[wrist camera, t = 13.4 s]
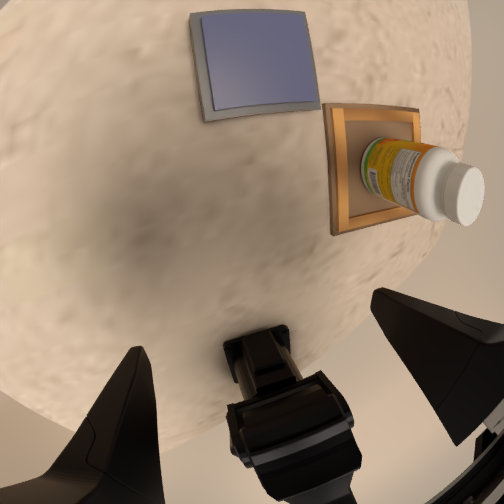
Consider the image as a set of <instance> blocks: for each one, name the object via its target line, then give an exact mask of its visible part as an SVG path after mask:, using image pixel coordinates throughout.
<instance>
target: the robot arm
mask: <svg viewBox="0 0 504 504" xmlns="http://www.w3.org/2000/svg"><path fill="white" fill-rule="evenodd" d="M370 308H371V312H372V313H373V315H374V317H375V319H376V320H377V322H378V324H379V326H380V327H381V329H382V330H383V333H384V334H385V336H386V338H387V339H388V341H389V342H390V344H391V345H392V347H393V348H394V350H395V351H396V352H397V354H398V355H399V357H400V358H401V360H402V361H403V363H404V364H405V366H406V367H407V369H408V370H409V372H410V373H411V374H412V376H413V378H414V379H415V381H416V382H417V384H418V385H419V387H420V388H421V390H422V391H423V393H424V394H425V396H426V398H427V399H428V401H429V402H430V404H431V406H432V407H433V409H434V411H435V412H436V414H437V416H438V417H439V419H440V421H441V422H442V424H443V426H444V427H445V429H446V431H447V432H448V434H449V436H450V438H451V439H452V441H453V443H454V444H455V446H458V445H459V444H460V443H462V441H464V440H465V439H466V438H467V437H468V436H469V435H470V434H471V433H472V432H473V431H474V430H475V429H476V428H477V427H478V426H479V425H480V424H481V423H482V422H483V423H484V425H485V426H486V427H487V428H486V429H485V430H484V431H483V432H482V433H481V434H480V435H479V436H478V437H477V438H476V442H475V453H474V461H473V463H472V464H471V465H470V466H469V467H468V468H467V469H466V470H465V471H464V472H463V473H462V474H461V475H460V476H458V477H457V478H456V479H455V480H454V481H453V482H452V483H450V484H449V485H448V486H447V487H446V488H444V489H443V490H442V491H441V492H440V493H438V494H437V495H436V496H434V497H433V498H432V499H430V500H429V501H428V502H426V503H425V504H504V324H500V323H496V322H492V321H488V320H484V319H480V318H476V317H473V316H469V315H466V314H463V313H460V312H457V311H453V310H450V309H448V308H445V307H442V306H438V305H435V304H432V303H429V302H426V301H423V300H420V299H417V298H414V297H411V296H408V295H405V294H402V293H399V292H396V291H393V290H390V289H387V288H383V287H382V288H378V289H375V290H374V291H373V295H372V300H371V305H370ZM283 330H284V331H283ZM227 346H229V347H227ZM223 348H224V351H225V354H226V358H227V361H228V364H229V367H230V370H231V373H232V376H233V379H234V382H235V383H239V386H240V389H241V392H242V395H243V398H244V401H242V402H238V403H235V404H233V403H232V404H229V405H227V408H228V412H227V416H226V419H227V423H228V426H229V431H230V451H231V453H232V455H234V456H237V457H239V459H240V460H241V461H242V462H243V464H244V465H245V467H246V468H252V467H254V469H255V472H256V474H257V475H258V478H259V480H260V482H261V484H262V486H263V488H264V489H265V490H266V492H267V494H268V495H269V496H271V497H272V498H274V499H275V500H276V501H278V502H280V501H283V500H284V501H286V502H288V503H290V504H357V502H356V500H355V498H354V496H353V493H352V491H351V488H350V483H351V480H352V476H353V473H354V471H356V470H358V469H360V467H361V461H362V454H361V452H360V450H359V448H358V446H357V444H356V441H355V439H354V436H353V433H352V431H351V428H353V426H354V419H353V415H352V413H351V410H350V408H349V406H348V404H347V402H346V400H345V399H344V397H343V396H342V394H341V393H340V392H339V391H338V390H337V389H336V387H335V386H334V385H333V384H332V383H331V381H330V380H328V378H327V377H326V376H325V374H324V373H323V372H322V371H321V370H320V371H318V372H316V373H315V374H313V375H311V376H309V377H306V378H304V379H303V378H302V376H301V374H300V372H299V370H298V368H297V366H296V365H295V363H294V361H293V359H292V357H291V353H290V337H289V329H288V327H287V326H286V325H283V326H279V327H276V328H273V329H270V330H266V331H263V332H259V333H256V334H252V335H249V336H245V337H242V338H238V339H235V340H231V341H227V342H225V343H224V344H223ZM0 504H165V499H164V492H163V484H162V476H161V467H160V456H159V444H158V429H157V408H156V398H155V392H154V384H153V377H152V369H151V364H150V361H149V359H148V357H147V354H146V352H145V350H144V348H143V347H142V346H135V347H131V348H130V349H129V351H128V352H127V354H126V355H125V357H124V358H123V360H122V361H121V363H120V364H119V366H118V367H117V369H116V370H115V372H114V373H113V375H112V376H111V378H110V379H109V381H108V382H107V384H106V385H105V387H104V389H103V390H102V392H101V393H100V395H99V396H98V398H97V400H96V401H95V403H94V404H93V406H92V408H91V409H90V411H89V412H88V414H87V417H85V419H84V420H83V422H82V424H81V425H80V427H79V428H78V430H77V431H76V433H75V435H74V436H73V437H72V439H71V440H70V442H69V443H68V444H67V446H66V447H65V449H64V450H63V451H62V452H61V454H60V455H59V456H58V458H57V459H56V460H55V462H54V463H53V464H52V466H51V467H50V468H49V469H48V470H47V471H46V472H45V473H44V474H43V475H41V476H39V477H37V478H34V479H31V480H28V481H25V482H22V483H18V484H15V485H11V486H7V487H3V488H0Z"/></svg>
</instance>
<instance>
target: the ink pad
mask: <svg viewBox="0 0 504 504" xmlns="http://www.w3.org/2000/svg"><path fill="white" fill-rule="evenodd" d="M189 26H190V34H191V41H192V48H193V56H194V63H195V69H196V76H197V83H198V89H199V96H200V102H201V109H202V115H203V121H204V122H209V121H215V120H221V119H227V118H234V117H241V116H249V115H257V114H266V113H277V112H290V111H307V110H321V106H320V98H319V90H318V83H317V76H316V69H315V63H314V57H313V51H312V45H311V40H310V34H309V29H308V24H307V19H306V15H305V12H301V11H290V10H273V9H234V10H217V11H206V12H197V13H190V17H189Z"/></svg>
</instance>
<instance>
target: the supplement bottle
mask: <svg viewBox="0 0 504 504" xmlns="http://www.w3.org/2000/svg"><path fill="white" fill-rule="evenodd" d="M361 175H362V179H363V182H364V184H365V186H366V188H367V189H368V190H369V191H370V192H371V193H372V194H373V195H375V196H377V197H380V198H382V199H384V200H387V201H389V202H391V203H393V204H396V205H398V206H400V207H403V208H405V209H407V210H409V211H411V212H413V213H416V214H418V215H420V216H422V217H424V218H426V219H428V220H431V221H442V220H445V219H446V218H448V219H450V220H451V221H453V222H456V223H458V224H460V225H462V226H468V225H470V224H472V222H474V220H475V219H476V217H477V215H478V214H479V212H480V209H481V206H482V203H483V197H484V180H483V176H482V173H481V172H480V170H479V169H478V168H476V167H474V166H471V165H468V164H464V163H461V162H459V160H458V159H457V157H456V156H455V155H454V154H453V153H452V152H451V151H450V150H448V149H446V148H442V147H438V146H433V145H429V144H424V143H418V142H413V141H407V140H401V139H394V138H378V139H376V140H374V141H373V142H372V143H370V144H369V146H368V147H367V148H366V150H365V152H364V154H363V157H362V162H361Z"/></svg>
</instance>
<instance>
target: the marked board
mask: <svg viewBox="0 0 504 504" xmlns="http://www.w3.org/2000/svg"><path fill="white" fill-rule="evenodd" d="M323 112H324V121H325V131H326V143H327V155H328V170H329V188H330V215H331V235H332V236H336V235H339V234H343V233H347V232H351V231H355V230H359V229H363V228H367V227H371V226H374V225H378V224H382V223H386V222H390V221H394V220H398V219H402V218H405V217H409V216H413V215H417V214H416V213H413V212H411V211H409V210H407V209H405V208H403V207H400V206H398V205H396V204H393V203H391V202H389V201H387V200H384V199H382V198H380V197H377V196H375V195H373V194H372V193H371V192H370V191H369V190H368V189H367V188H366V186H365V184H364V182H363V179H362V175H361V162H362V157H363V154H364V152H365V150H366V148H367V147H368V146H369V144H370V143H372V142H373V141H374V140H376V139H378V138H394V139H401V140H407V141H413V142H418V143H421V134H420V114H419V109H415V108H406V107H397V106H386V105H371V104H343V103H325V104H323Z"/></svg>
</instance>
